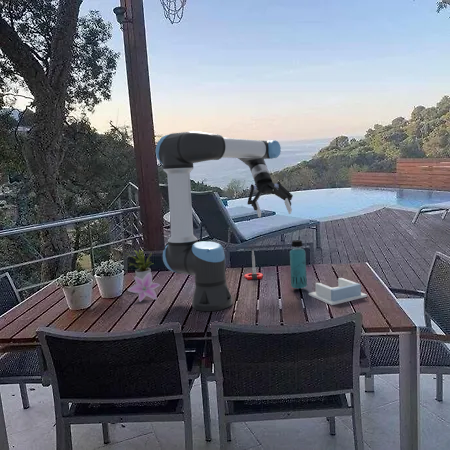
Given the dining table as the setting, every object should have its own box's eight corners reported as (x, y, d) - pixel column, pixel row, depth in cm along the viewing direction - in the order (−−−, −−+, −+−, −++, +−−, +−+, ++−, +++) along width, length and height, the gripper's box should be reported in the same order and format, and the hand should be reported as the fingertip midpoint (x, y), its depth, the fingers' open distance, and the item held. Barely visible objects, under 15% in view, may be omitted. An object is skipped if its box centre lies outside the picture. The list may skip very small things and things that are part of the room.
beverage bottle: (290, 292, 171) (287, 242, 168) (291, 287, 178) (289, 239, 175) (307, 292, 170) (304, 242, 167) (308, 287, 176) (305, 238, 173)
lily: (125, 304, 175) (126, 286, 170) (134, 285, 185) (136, 268, 180) (153, 311, 175) (156, 294, 170) (161, 292, 185) (164, 275, 180)
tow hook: (243, 275, 201) (245, 280, 192) (242, 248, 200) (243, 251, 191) (261, 274, 201) (264, 279, 192) (260, 247, 200) (262, 250, 191)
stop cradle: (331, 305, 153) (331, 292, 152) (308, 295, 166) (308, 283, 165) (367, 296, 159) (366, 284, 159) (342, 287, 172) (342, 275, 171)
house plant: (120, 283, 202) (117, 249, 199) (146, 276, 211) (143, 244, 208) (136, 289, 191) (132, 253, 188) (162, 281, 200) (159, 247, 197)
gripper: (285, 180, 201) (300, 215, 189) (234, 185, 195) (245, 222, 183) (289, 168, 195) (305, 204, 183) (236, 173, 189) (248, 211, 177)
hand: (275, 213), depth 183 cm, fingers open, 13 cm apart
